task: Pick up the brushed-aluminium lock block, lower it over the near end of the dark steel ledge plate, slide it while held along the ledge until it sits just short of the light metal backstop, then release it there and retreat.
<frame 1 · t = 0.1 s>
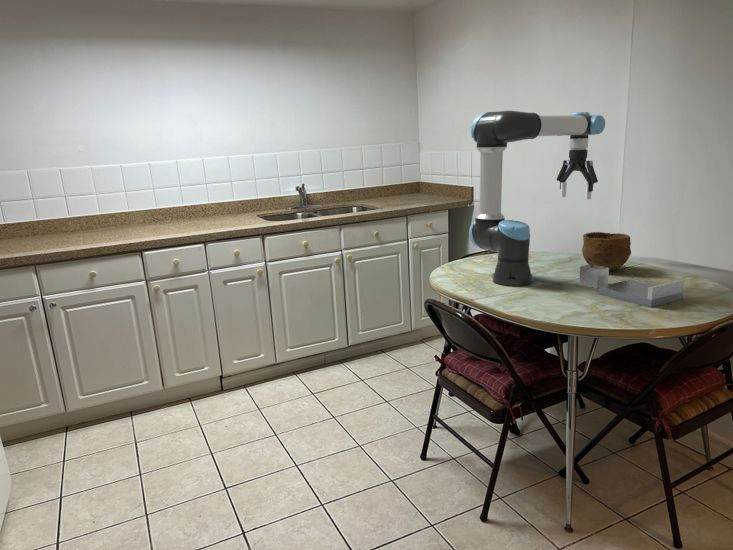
hand: (575, 198, 241), 28 cm above the table, fingers open, 13 cm apart
lock: (593, 284, 205), on the table
ledge: (639, 296, 189), on the table
bowl: (604, 270, 227), on the table
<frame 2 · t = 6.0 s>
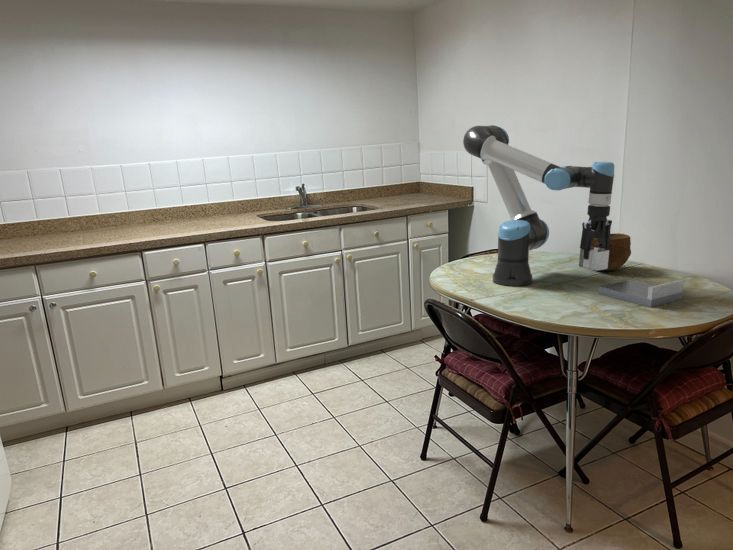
hand: (592, 266, 204), 7 cm above the table, fingers closed on lock, 6 cm apart
lock: (593, 267, 204), point 7 cm above the table, touching gripper
everything else where it was.
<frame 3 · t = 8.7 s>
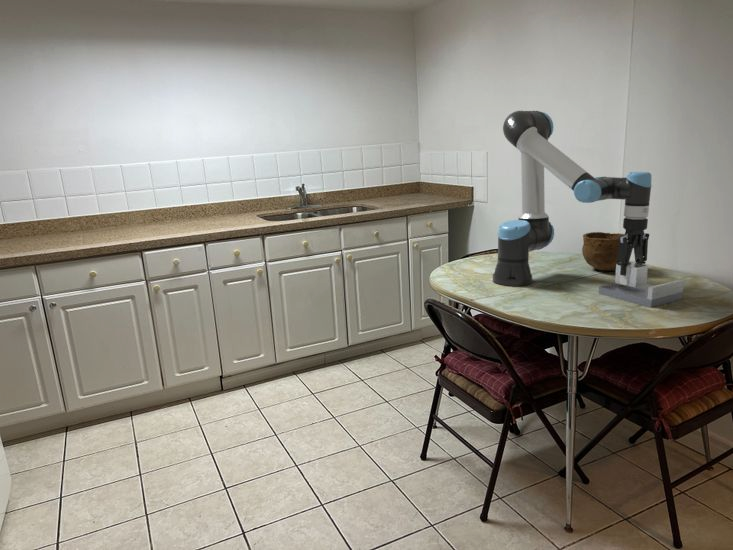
hand: (629, 282, 192), 4 cm above the table, fingers closed on lock, 6 cm apart
lock: (630, 283, 192), point 4 cm above the table, touching gripper
everything else where it was.
when the fingers open (4 cm above the table, at t = 11.5 s): lock stays where it is, resting on ledge.
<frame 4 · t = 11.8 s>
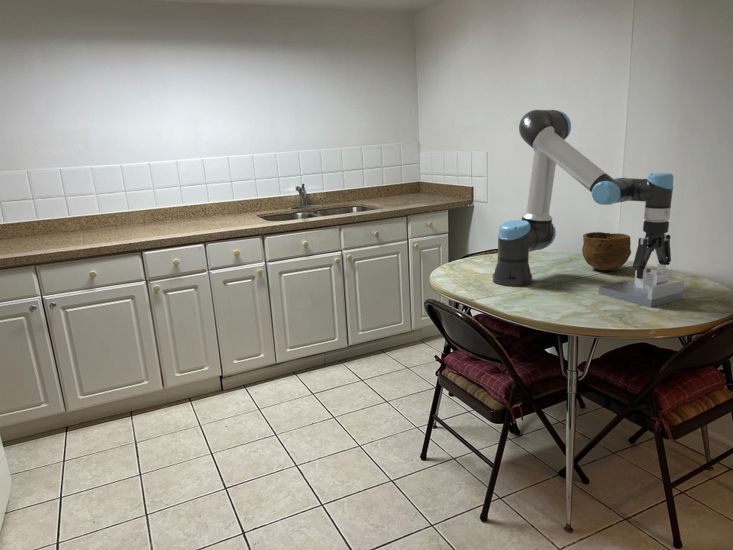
hand: (649, 285, 185), 5 cm above the table, fingers open, 10 cm apart
lock: (649, 291, 186), point 2 cm above the table, touching ledge
everything else where it was.
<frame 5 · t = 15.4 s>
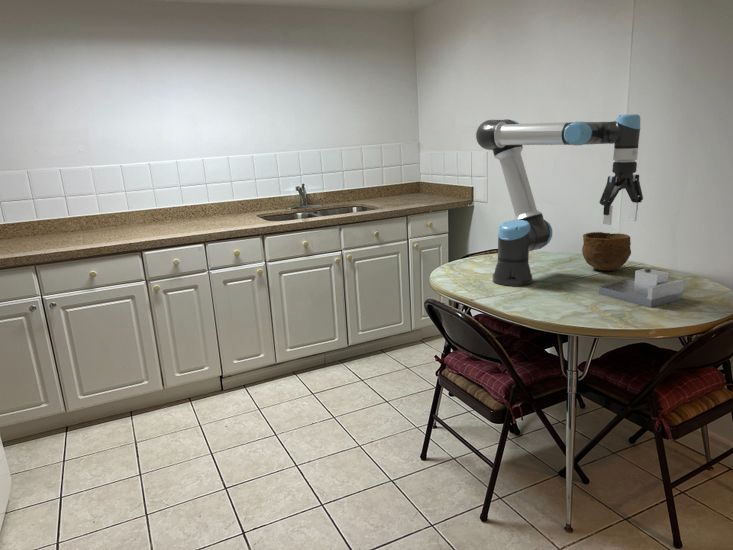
hand: (619, 222, 192), 25 cm above the table, fingers open, 13 cm apart
nothing on the table moved.
at the end: lock inside the target area (0.0 cm from its centre), point 2.5 cm above the table; lock tilted 0°; the gripper is holding nothing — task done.
